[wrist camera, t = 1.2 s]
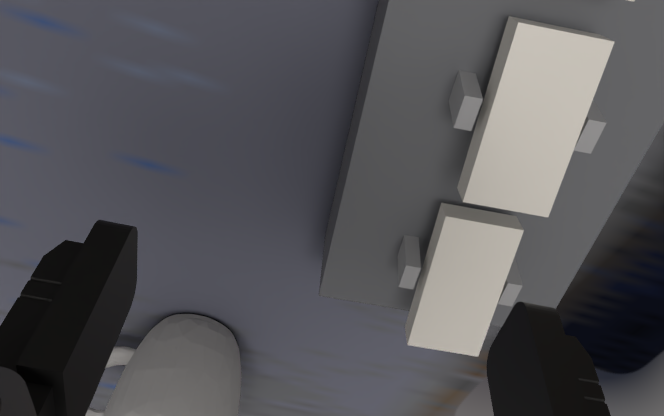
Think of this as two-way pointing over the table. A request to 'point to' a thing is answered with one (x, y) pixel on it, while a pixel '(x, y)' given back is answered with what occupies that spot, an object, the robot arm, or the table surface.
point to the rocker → (462, 279)
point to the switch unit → (456, 134)
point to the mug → (178, 371)
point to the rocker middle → (532, 115)
